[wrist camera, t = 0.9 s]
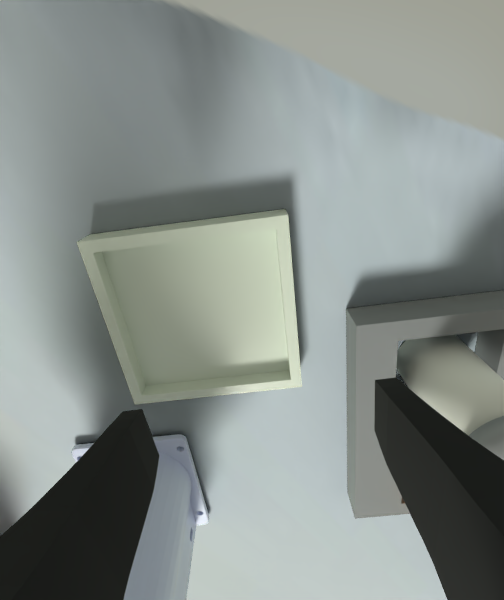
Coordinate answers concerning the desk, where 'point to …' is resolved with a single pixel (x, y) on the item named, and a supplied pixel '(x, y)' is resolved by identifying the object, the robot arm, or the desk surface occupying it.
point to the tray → (199, 305)
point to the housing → (382, 364)
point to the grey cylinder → (456, 386)
